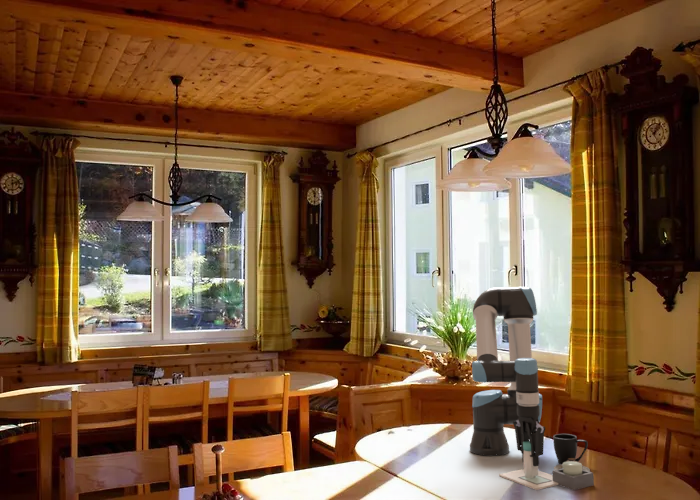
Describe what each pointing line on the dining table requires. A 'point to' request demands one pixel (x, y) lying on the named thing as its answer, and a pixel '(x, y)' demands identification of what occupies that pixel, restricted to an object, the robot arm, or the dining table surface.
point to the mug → (567, 447)
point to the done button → (572, 468)
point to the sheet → (531, 479)
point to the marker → (527, 459)
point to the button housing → (573, 479)
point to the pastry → (573, 461)
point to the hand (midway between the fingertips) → (531, 474)
